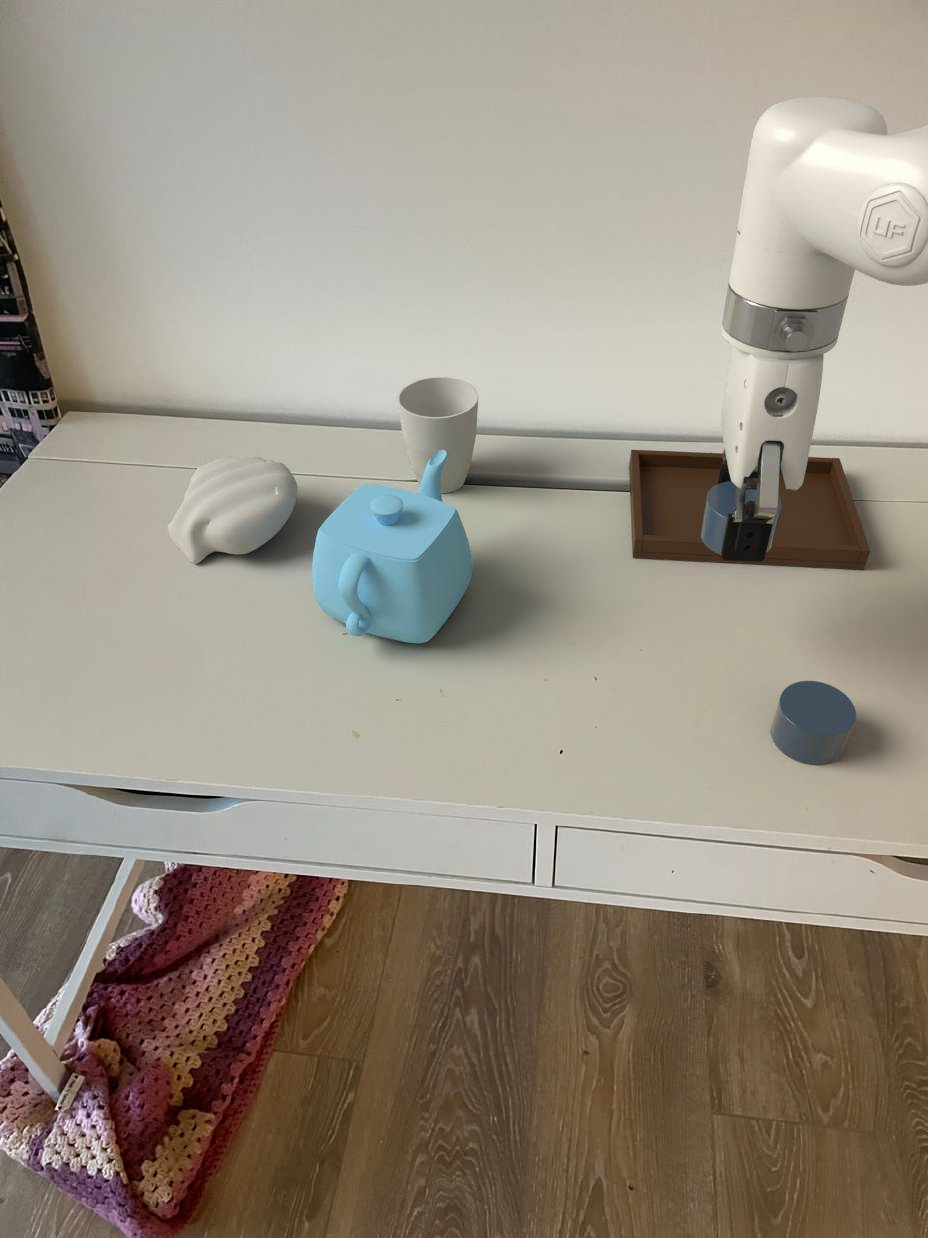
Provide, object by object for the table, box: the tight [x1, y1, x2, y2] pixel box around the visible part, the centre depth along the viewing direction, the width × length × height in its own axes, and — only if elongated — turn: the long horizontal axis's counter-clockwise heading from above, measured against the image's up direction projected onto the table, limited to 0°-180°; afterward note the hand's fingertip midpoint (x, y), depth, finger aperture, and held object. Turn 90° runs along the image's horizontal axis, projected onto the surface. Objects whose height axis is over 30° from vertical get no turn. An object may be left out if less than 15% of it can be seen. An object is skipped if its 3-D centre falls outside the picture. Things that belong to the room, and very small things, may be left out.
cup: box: [396, 376, 479, 494], centre depth 97 cm, size 8×8×10 cm
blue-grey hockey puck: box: [770, 680, 857, 766], centre depth 72 cm, size 6×6×4 cm
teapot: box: [311, 450, 473, 644], centre depth 83 cm, size 12×18×12 cm
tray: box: [628, 449, 871, 571], centre depth 94 cm, size 22×16×2 cm
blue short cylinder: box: [701, 481, 782, 555], centre depth 73 cm, size 6×6×4 cm
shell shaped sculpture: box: [167, 456, 298, 565], centre depth 93 cm, size 13×13×6 cm
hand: (737, 531), depth 74 cm, fingers closed on blue short cylinder, 5 cm apart
